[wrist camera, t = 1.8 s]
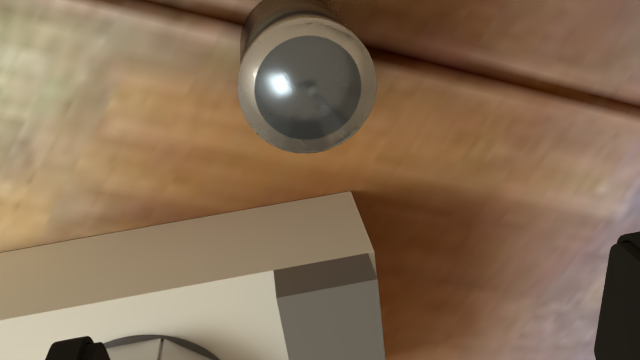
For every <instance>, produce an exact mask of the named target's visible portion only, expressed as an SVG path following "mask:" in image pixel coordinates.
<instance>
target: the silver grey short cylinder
mask: <svg viewBox="0 0 640 360" xmlns="http://www.w3.org/2000/svg"><path fill="white" fill-rule="evenodd" d="M240 63H241V65H240V69H239V75H238V97H239V102H240V106H241V110H242V112H243V114H244V117H245V118H246V120H247V122H248V123H249V125H250V126H251V128H252V129H253V130H254V131H255V132H256V133H257V134H258V135H259V136H260V137H261V138H262V139H264V140H265V141H266V142H268V143H269V144H271V145H273V146H275V147H277V148H280V149H282V150H285V151H289V152H294V153H316V152H321V151H325V150H328V149H331V148H334V147H336V146H338V145H340V144H342V143H343V142H345V141H346V140H348V139H349V138H350V137H351V136H353V135H354V134H355V133H356V132H357V131H358V130H359V129H360V128H361V126H362V125H363V124H364V122H365V121H366V119H367V118H368V116H369V114H370V112H371V109H372V107H373V104H374V100H375V96H376V89H377V78H376V72H375V67H374V64H373V61H372V59H371V56H370V54H369V52H368V51H367V49H366V47H365V46H364V45H363V43H362V42H361V41H360V40H359V39H358V37H357V36H356V35H355V34H354V33H353V32H352V31H350V30H349V29H348V28H346V27H345V25H344V24H343V23H342V22H341V20H340V19H339V18H338V17H337V15H336V14H335V13H334V12H333V10H332V9H331V8H330V7H329V6H328V5H327V4H326V3H325V2H323V1H322V0H263V1H261V2H260V3H259V4H258V5H257V6H256V7H255V8H254V9H253V10H252V11H251V13H250V14H249V16H248V17H247V19H246V21H245V23H244V26H243V29H242V32H241V39H240Z"/></svg>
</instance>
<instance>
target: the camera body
mask: <svg viewBox="0 0 640 360" xmlns="http://www.w3.org/2000/svg"><path fill="white" fill-rule="evenodd" d="M83 336H89V337H91V338H92V340H93V342H94V343H97V342H102V343H103V344H104V346H105V348H106V350H107V352H108V355H109V357H110V360H385V350H384V340H383V329H382V319H381V308H380V298H379V287H378V279H377V274H376V264H375V254H374V250H373V247H372V245H371V242H370V239H369V237H368V234H367V232H366V229H365V227H364V224H363V221H362V219H361V216H360V214H359V211H358V209H357V206H356V204H355V201H354V198H353V196H352V193H351V191H349V192H343V193H337V194H332V195H326V196H320V197H314V198H309V199H303V200H297V201H292V202H286V203H280V204H275V205H269V206H263V207H258V208H252V209H246V210H241V211H235V212H229V213H224V214H218V215H212V216H206V217H201V218H195V219H189V220H184V221H178V222H172V223H167V224H161V225H155V226H150V227H144V228H138V229H133V230H127V231H121V232H116V233H110V234H104V235H98V236H93V237H87V238H81V239H76V240H70V241H64V242H59V243H53V244H47V245H42V246H36V247H30V248H25V249H19V250H13V251H8V252H2V253H0V360H45V359H46V356H47V354H48V351H49V349H50V347H51V345H52V344H53V343H54V342H57V341H62V340H67V339H73V338H78V337H83Z"/></svg>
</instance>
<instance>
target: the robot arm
mask: <svg viewBox="0 0 640 360" xmlns="http://www.w3.org/2000/svg"><path fill="white" fill-rule="evenodd" d="M594 353H595V357H596V360H640V232H635V233H630V234H624V235H622V236H620V238H619V239H618V241H617V244H615V245H613V246H612V247H611V250H610V254H609V260H608V267H607V273H606V279H605V285H604V291H603V297H602V304H601V310H600V316H599V322H598V328H597V334H596V341H595V347H594ZM45 360H110V357H109V355H108V352H107V350H106V348H105V346H104V344H103V343H102V342H97V343H94V342H93V340H92V338H91V337H89V336H83V337H78V338H73V339H67V340H62V341H57V342H54V343H53V344H52V345H51V347H50V349H49V351H48V354H47V356H46V359H45Z"/></svg>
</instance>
